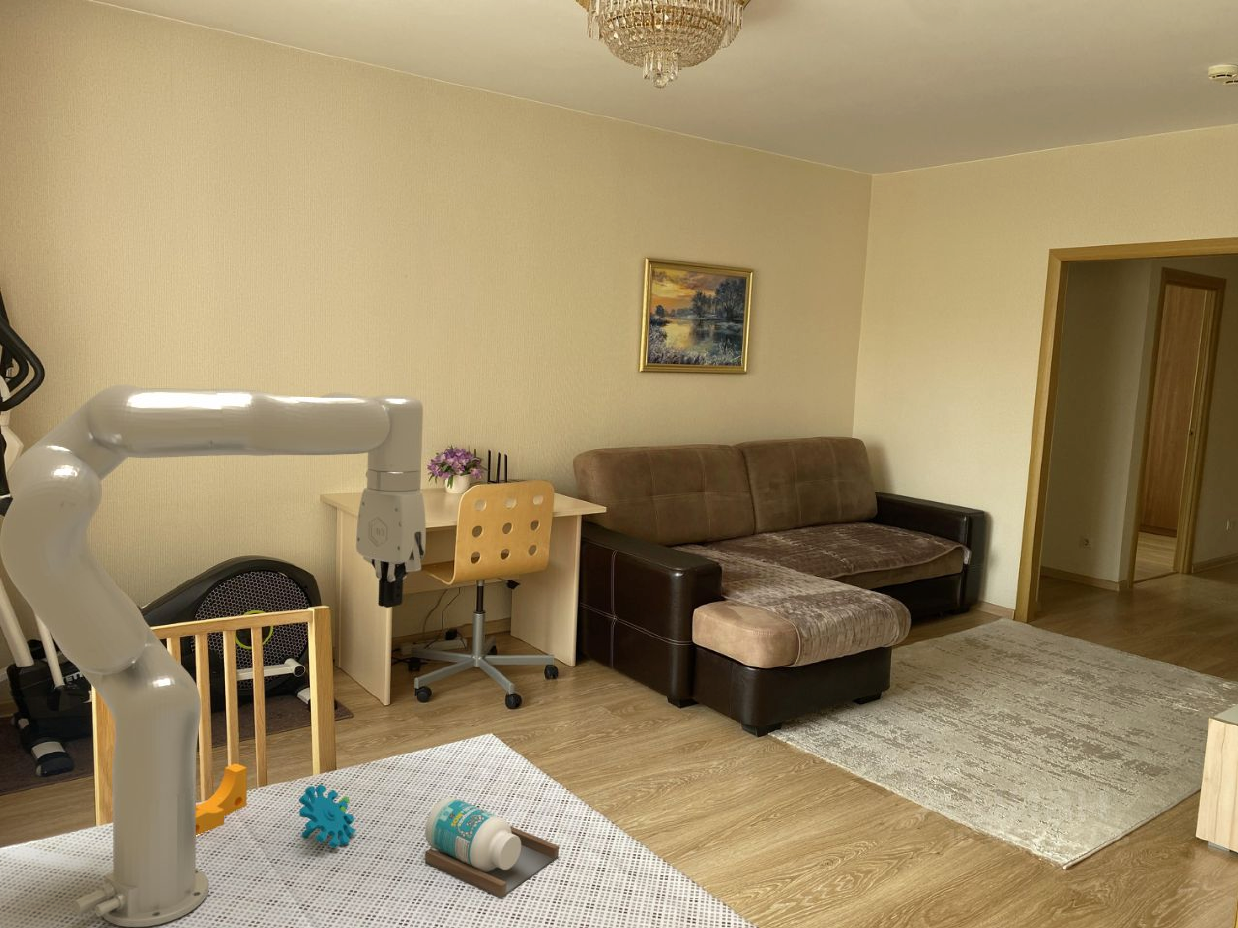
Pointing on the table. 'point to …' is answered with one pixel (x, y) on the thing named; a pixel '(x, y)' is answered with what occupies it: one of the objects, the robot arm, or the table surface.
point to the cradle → (499, 881)
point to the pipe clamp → (223, 799)
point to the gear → (326, 816)
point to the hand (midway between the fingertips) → (390, 605)
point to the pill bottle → (472, 835)
